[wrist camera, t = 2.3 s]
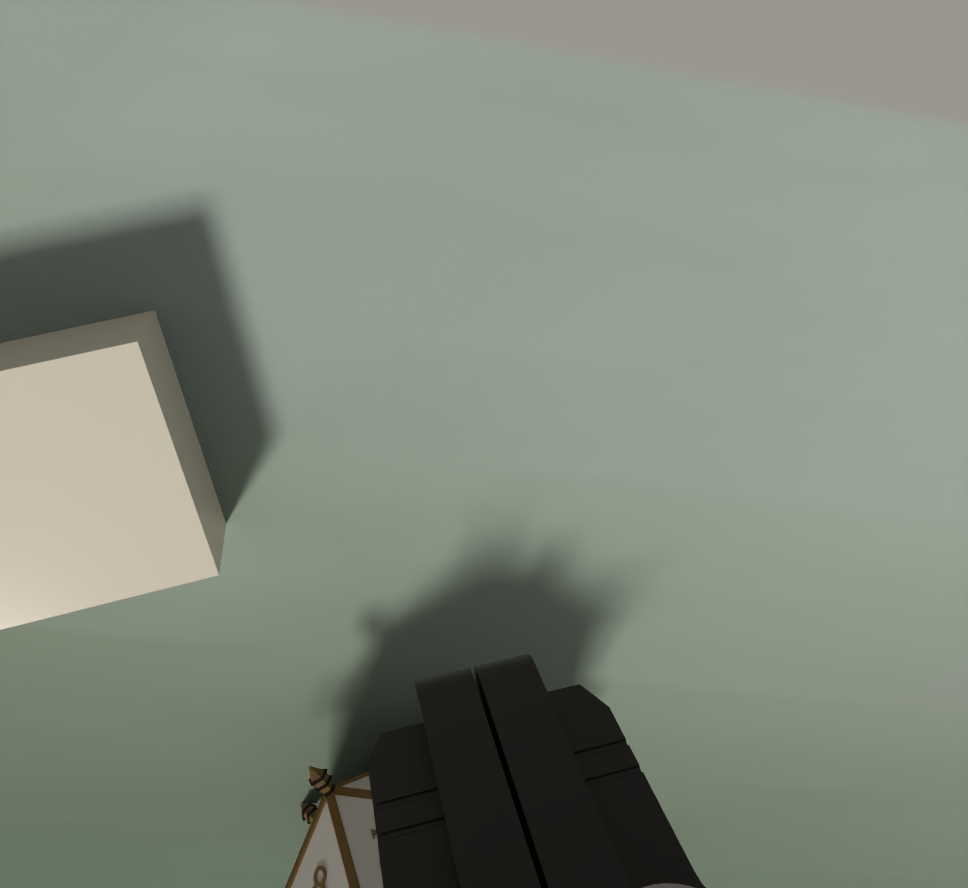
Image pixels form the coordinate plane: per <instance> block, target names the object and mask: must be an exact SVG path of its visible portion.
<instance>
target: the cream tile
mask: <svg viewBox="0 0 968 888" xmlns="http://www.w3.org/2000/svg"><path fill="white" fill-rule="evenodd" d="M225 528H226V521H225V518H224V515H223V512H222V509H221V506H220V503H219V500H218V497H217V494H216V491H215V489H214V486H213V483H212V480H211V477H210V474H209V471H208V468H207V465H206V462H205V459H204V456H203V453H202V450H201V447H200V444H199V441H198V438H197V435H196V432H195V429H194V426H193V423H192V420H191V417H190V414H189V411H188V408H187V405H186V402H185V399H184V396H183V393H182V390H181V387H180V384H179V381H178V378H177V375H176V372H175V369H174V366H173V363H172V360H171V357H170V354H169V351H168V348H167V345H166V342H165V339H164V336H163V333H162V330H161V327H160V324H159V321H158V318H157V315H156V312H155V310H153V311H149V312H144V313H139V314H135V315H130V316H125V317H121V318H116V319H111V320H106V321H102V322H97V323H92V324H88V325H83V326H78V327H73V328H69V329H64V330H59V331H55V332H50V333H45V334H40V335H36V336H31V337H26V338H22V339H17V340H12V341H8V342H3V343H0V630H1V629H5V628H9V627H13V626H17V625H21V624H25V623H29V622H33V621H37V620H41V619H45V618H49V617H53V616H57V615H61V614H65V613H69V612H73V611H77V610H81V609H85V608H89V607H93V606H97V605H101V604H105V603H109V602H113V601H117V600H121V599H125V598H129V597H133V596H137V595H141V594H145V593H149V592H153V591H157V590H161V589H165V588H169V587H173V586H177V585H181V584H186V583H190V582H194V581H198V580H202V579H206V578H210V577H214V576H218V575H219V572H220V564H221V557H222V550H223V543H224V535H225Z"/></svg>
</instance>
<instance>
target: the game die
mask: <svg viewBox="0 0 968 888" xmlns="http://www.w3.org/2000/svg"><path fill="white" fill-rule="evenodd" d="M309 769H310V779H309V781H310V784H311V786H315V789H316V791H317V792H319V791H320V792H321V793H323V796H322V799H321V801H320V804H319V806H318V808H316V807H317V806H316V805H314V804H312V803H309V804H306V805H301V809H302V819H303V821H304V820H307V822H308V824H310V823H311V826H310V828H309V830H308V833H307V835H306V838H305V840H304V843H303V845H302V848H301V850H300V852H299V855H298V857H297V860H296V862H295V865H294V867H293V869H292V872H291V874H290V877H289V879H288V882H287V884H286V887H285V888H383V881H382V873H381V865H380V858H379V850H378V839H377V834H376V826H375V819H374V808H373V803H372V795H371V787H370V780H369V772H365V773H363V774H360V775H358V776H355V777H353V778H350V779H348V780H345V781H343V782H340V783H338V784H335V785H333V784H332V781H331V778H332V776H331V775H328V774H327V769H318V768H315V767H311V766H309Z"/></svg>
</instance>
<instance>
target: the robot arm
mask: <svg viewBox="0 0 968 888" xmlns="http://www.w3.org/2000/svg"><path fill="white" fill-rule="evenodd" d="M474 676H475V680H474V677H473V674H472V672H471V669H470V668H469V669H464V670H460V671H456V672H452V673H448V674H443V675H439V676H435V677H431V678H427V679H423V680H418V681H414V682H415V688H416V693H417V698H418V704H419V709H420V714H421V719H422V723H421V724H417V725H413V726H409V727H405V728H401V729H397V730H393V731H389V732H384V733H381V735H380V738H379V740H378V743H377V746H376V748H375V751H374V754H373V756H372V759H371V762H370V764H369V767H368V772H369V780H370V787H371V795H372V803H373V808H374V819H375V826H376V834H377V839H378V850H379V858H380V865H381V873H382V881H383V888H705V886H704V885H703V884H702V883H701V881H700V880H699V878H698V877H697V875H696V873H695V872H694V870H693V868H692V866H691V864H690V862H689V860H688V858H687V856H686V854H685V852H684V850H683V849H682V847H681V845H680V843H679V841H678V839H677V837H676V835H675V833H674V831H673V829H672V827H671V825H670V823H669V822H668V820H667V818H666V816H665V814H664V812H663V810H662V808H661V806H660V804H659V802H658V800H657V798H656V796H655V795H654V793H653V791H652V789H651V787H650V785H649V783H648V781H647V779H646V777H645V775H644V773H643V772H641V770H640V767H639V764H638V762H637V760H636V758H635V756H634V754H633V752H632V750H631V748H630V746H629V745H627V743H626V739H625V737H624V735H623V733H622V731H621V729H620V727H619V725H618V723H617V721H616V719H615V717H614V715H613V714H612V712H611V710H610V708H609V707H608V706H607V705H606V704H604V703H603V702H602V701H600V700H599V699H598V698H597V697H595V696H594V695H593V694H591V693H590V692H589V691H588V690H586V689H585V688H584V687H582V686H581V685H580V684H579V685H575V686H570V687H566V688H562V689H558V690H554V691H550V692H547V691H546V688H545V686H544V684H543V681H542V679H541V677H540V675H539V672H538V670H537V668H536V665H535V663H534V661H533V659H532V657H531V655H530V654H526V655H522V656H518V657H514V658H509V659H505V660H501V661H497V662H493V663H488V664H484V665H480V666H476V667H474Z"/></svg>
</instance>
